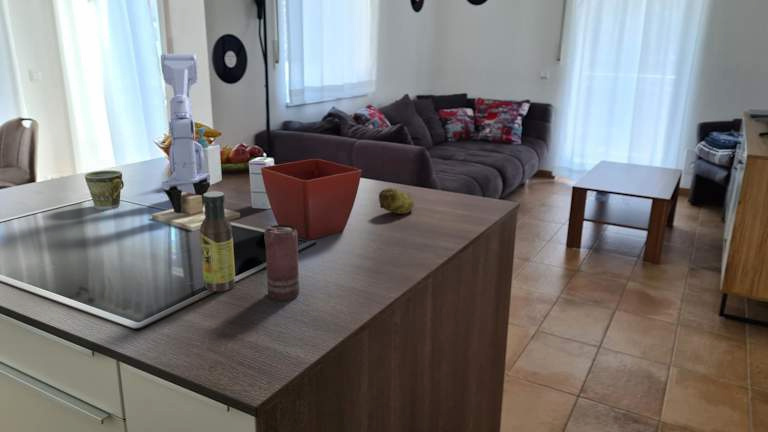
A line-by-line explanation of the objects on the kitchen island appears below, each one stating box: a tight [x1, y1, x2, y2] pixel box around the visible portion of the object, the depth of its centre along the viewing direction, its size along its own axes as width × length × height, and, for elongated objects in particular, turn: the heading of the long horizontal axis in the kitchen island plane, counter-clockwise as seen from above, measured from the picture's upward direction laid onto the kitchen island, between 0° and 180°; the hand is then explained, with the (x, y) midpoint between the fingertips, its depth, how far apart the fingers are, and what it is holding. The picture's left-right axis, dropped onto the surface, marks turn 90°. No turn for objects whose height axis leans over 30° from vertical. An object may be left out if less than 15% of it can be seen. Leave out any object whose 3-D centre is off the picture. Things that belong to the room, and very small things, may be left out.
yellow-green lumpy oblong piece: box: [378, 187, 415, 215], centre depth 171 cm, size 8×13×8 cm, turn 120°
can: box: [263, 224, 300, 302], centre depth 114 cm, size 6×6×14 cm
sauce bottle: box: [199, 191, 236, 293], centre depth 117 cm, size 6×6×20 cm
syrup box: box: [248, 156, 275, 210], centre depth 175 cm, size 6×6×14 cm
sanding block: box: [181, 192, 203, 216], centre depth 165 cm, size 7×4×5 cm, turn 54°
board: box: [151, 205, 241, 232], centre depth 164 cm, size 18×16×1 cm
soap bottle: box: [195, 126, 223, 187], centre depth 201 cm, size 9×9×19 cm
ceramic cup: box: [84, 169, 125, 211], centre depth 172 cm, size 13×10×10 cm
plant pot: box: [261, 158, 362, 241], centre depth 153 cm, size 19×19×17 cm
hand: (189, 209), depth 166 cm, fingers open, 7 cm apart
